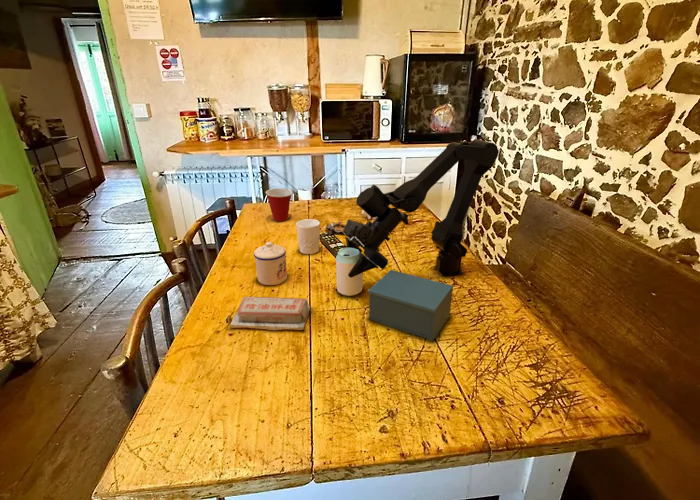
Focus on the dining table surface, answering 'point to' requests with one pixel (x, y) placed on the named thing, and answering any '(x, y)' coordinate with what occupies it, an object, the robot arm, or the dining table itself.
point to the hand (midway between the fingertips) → (344, 270)
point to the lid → (411, 290)
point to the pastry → (335, 227)
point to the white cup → (308, 235)
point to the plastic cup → (279, 203)
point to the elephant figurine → (367, 215)
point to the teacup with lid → (271, 264)
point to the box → (409, 316)
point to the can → (343, 268)
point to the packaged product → (271, 313)
